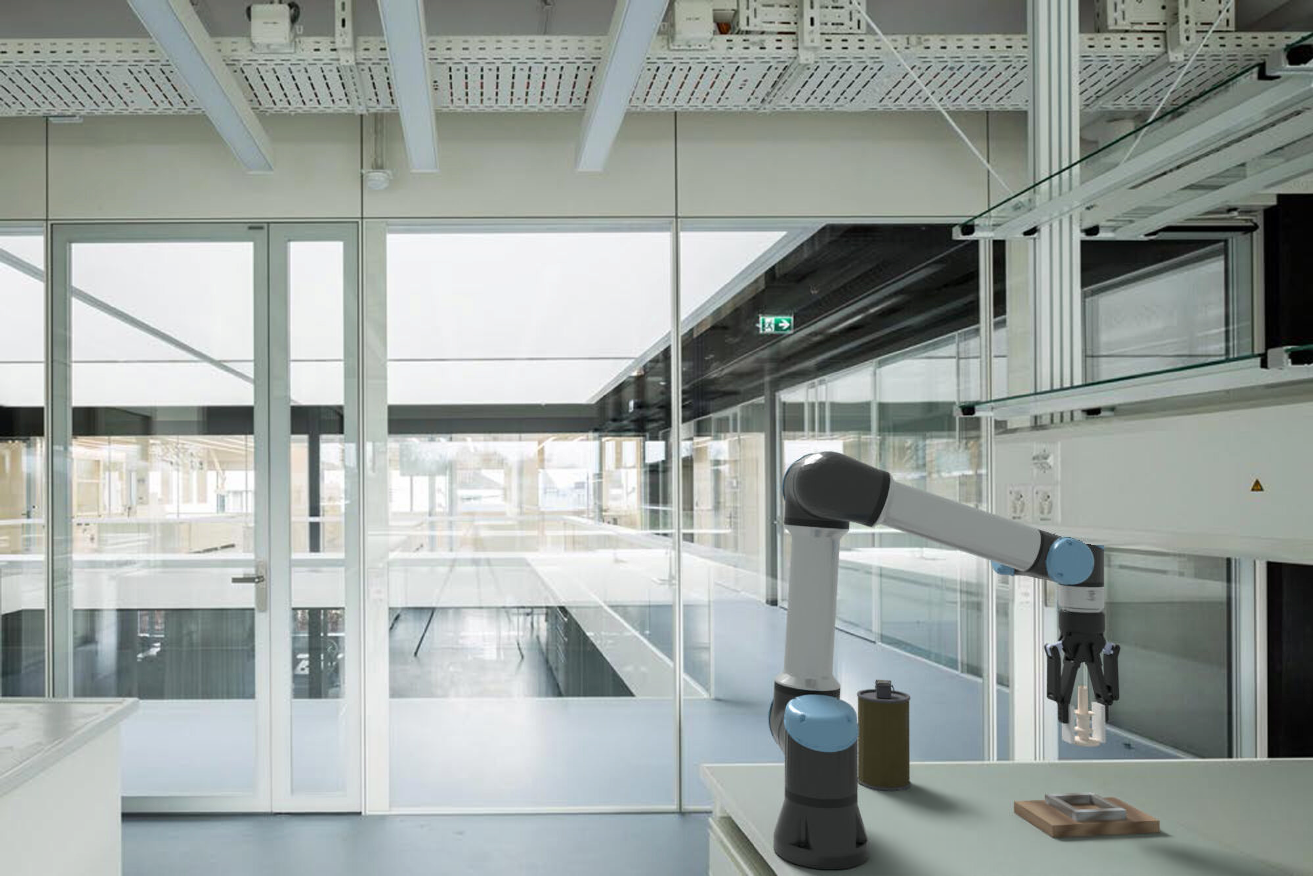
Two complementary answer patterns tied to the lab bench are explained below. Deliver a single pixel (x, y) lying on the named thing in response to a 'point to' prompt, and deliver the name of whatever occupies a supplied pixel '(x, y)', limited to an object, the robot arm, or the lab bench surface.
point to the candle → (1084, 720)
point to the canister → (883, 738)
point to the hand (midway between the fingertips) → (1083, 740)
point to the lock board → (1085, 815)
